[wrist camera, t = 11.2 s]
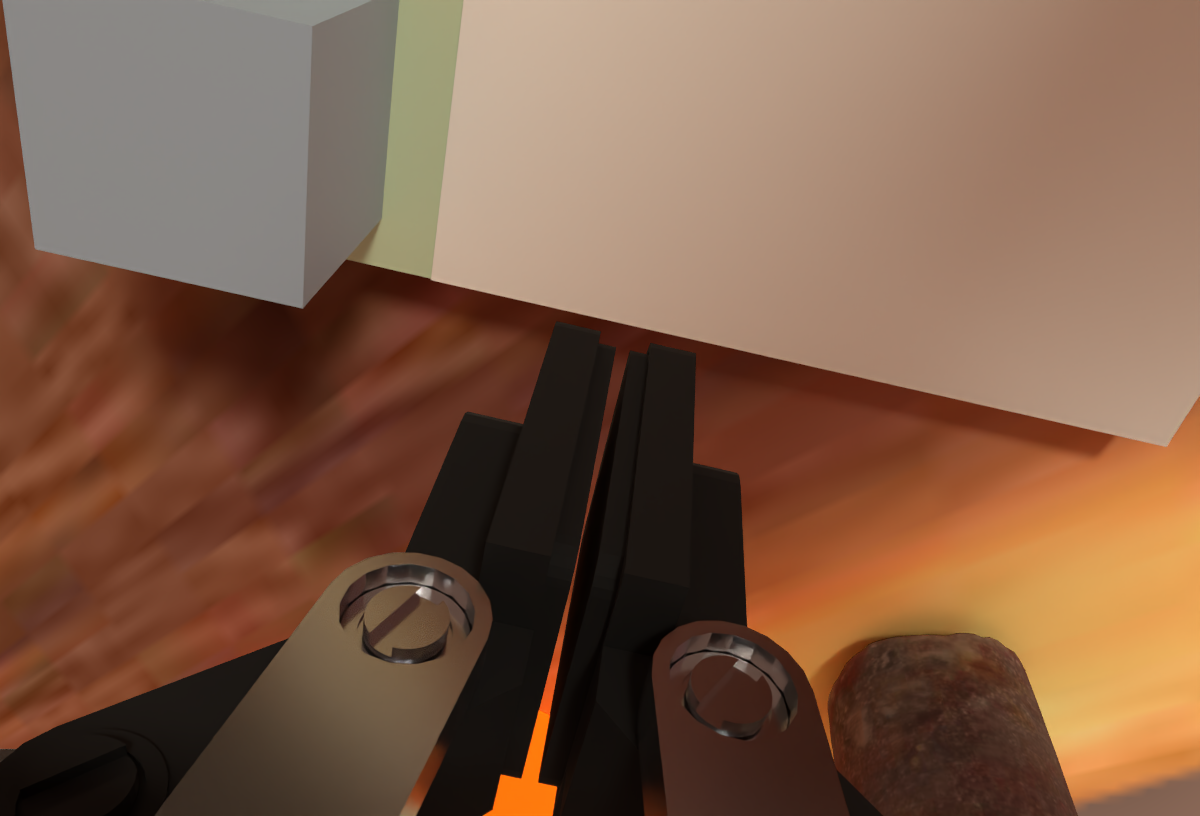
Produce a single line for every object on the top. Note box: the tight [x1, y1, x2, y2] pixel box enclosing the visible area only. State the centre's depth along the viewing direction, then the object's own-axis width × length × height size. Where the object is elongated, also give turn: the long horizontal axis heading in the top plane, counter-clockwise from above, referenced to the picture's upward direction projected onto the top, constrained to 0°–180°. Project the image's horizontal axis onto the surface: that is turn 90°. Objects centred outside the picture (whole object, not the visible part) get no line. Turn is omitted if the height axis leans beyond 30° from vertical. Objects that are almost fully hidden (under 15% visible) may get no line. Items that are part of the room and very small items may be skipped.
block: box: [3, 0, 399, 309], centre depth 21 cm, size 6×6×6 cm
